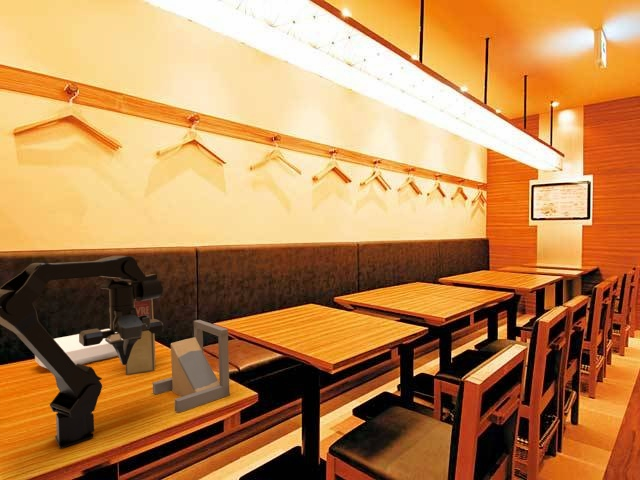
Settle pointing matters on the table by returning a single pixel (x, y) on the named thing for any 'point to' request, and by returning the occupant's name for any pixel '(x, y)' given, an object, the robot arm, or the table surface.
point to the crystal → (84, 350)
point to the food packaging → (142, 344)
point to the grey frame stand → (223, 388)
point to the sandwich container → (190, 368)
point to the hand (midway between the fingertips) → (124, 364)
